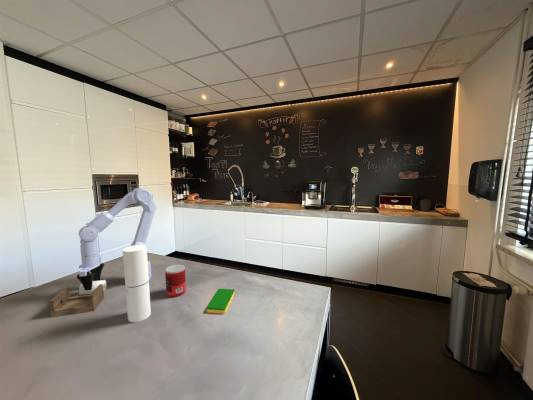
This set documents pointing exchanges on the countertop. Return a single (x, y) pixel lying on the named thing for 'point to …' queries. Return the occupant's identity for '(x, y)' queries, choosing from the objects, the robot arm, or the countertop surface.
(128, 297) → the cylindrical container
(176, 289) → the canned food
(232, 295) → the dish sponge
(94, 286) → the roll
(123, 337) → the countertop surface
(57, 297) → the holder
